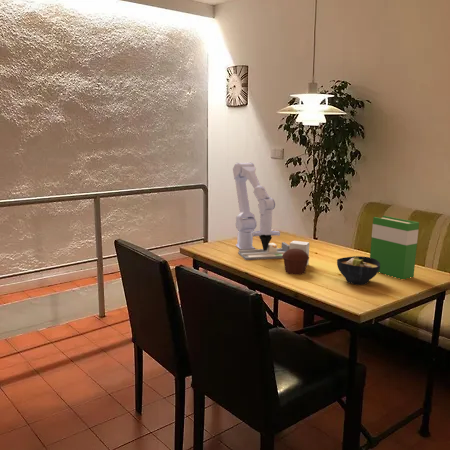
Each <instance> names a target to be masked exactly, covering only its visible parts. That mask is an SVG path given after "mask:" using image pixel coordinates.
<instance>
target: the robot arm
mask: <svg viewBox="0 0 450 450" xmlns="http://www.w3.org/2000/svg"><path fill="white" fill-rule="evenodd" d="M256 169H257V168H256V166H255V164H254V163H253V162H252V161H251V162H235V163H234V165H233V168H232V173H233V180H234V182H235V189H236V194H237V203H238V209H239V214H237V216H236V217H235V227H236V230H237V238H236V239H237V243H236V244H235V246H236V248H238V249H239V250H250V249H256V247H254V246H253V241H254V240H253V239H254V238H253V237H258V238H259V239H260V242H261V246H262V249H263V250H264V251H266V250H267V247H268V244H269V243H271V240H273V239H272V238H273V236H277V237H279V236H281V231H279V230H272V229H273V227H272V226H273V210H274V209H275V208H276V201H275V199H274V198H273V197H271V196H269V193H268V192H267V190H266V188H265V186H263V185H261V183H260V182H259V179H258V176H257V173H256ZM247 181H249V183H250V185H251V186H252V187H253V193H254V196H255V197H256V199H257V201H258V205H257V207H258V210H259V214H260V216H259V217H260V218H259V220H260V221H259V230H257V231H255V229H256V228H257V225H258V224H257V223H258V222H257V220H256V218H255V214H253V212H251V209H250V200H249V197H248V196H249V195H248V189H247Z"/></svg>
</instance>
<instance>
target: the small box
mask: <svg viewBox="0 0 450 450" xmlns="http://www.w3.org/2000/svg"><path fill="white" fill-rule="evenodd" d="M289 245H290V247H289V249H301V250H303V251H305V252H306V253H307V254H308V256H309V257H310V242H309V241H300V240H292V241H291V242H289ZM309 259H310V258H309ZM309 259H308V261H307V266H309V264H310V263H309Z"/></svg>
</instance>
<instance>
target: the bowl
mask: <svg viewBox="0 0 450 450" xmlns="http://www.w3.org/2000/svg"><path fill="white" fill-rule="evenodd" d="M336 265H337V268H338V269H337V270H338V271H339V272H340V274H341V275H342V276H343V277H344V278H345V281H346V282H347V283H348V284H352V285H357V286H358V285H359V286H362V285H363V286H364V285H366V284H368V283H369V282H370V281H371V280H372V279H373V278H375V276H377V274H378V271H379V269H380V263H379V261H377V260H376V259H373V258H370V256H369V257H368V256H363V255H362V256H361V255H360V256H359V255H356V256H347V257H345V256H344V257H341V258H337V260H336Z"/></svg>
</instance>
